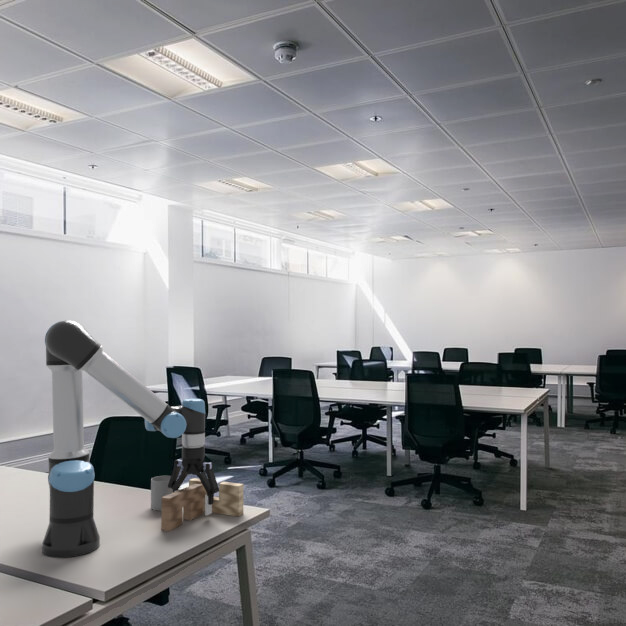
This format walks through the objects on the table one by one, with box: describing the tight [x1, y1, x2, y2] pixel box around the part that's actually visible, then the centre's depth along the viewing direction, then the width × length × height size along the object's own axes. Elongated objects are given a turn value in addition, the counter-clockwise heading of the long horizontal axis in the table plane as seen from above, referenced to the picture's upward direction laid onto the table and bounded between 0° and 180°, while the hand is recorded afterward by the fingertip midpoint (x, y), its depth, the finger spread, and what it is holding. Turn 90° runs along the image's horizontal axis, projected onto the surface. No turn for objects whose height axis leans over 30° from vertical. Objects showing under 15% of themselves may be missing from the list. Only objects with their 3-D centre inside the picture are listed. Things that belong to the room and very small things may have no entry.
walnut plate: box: [160, 484, 204, 532], centre depth 191 cm, size 18×3×10 cm, turn 156°
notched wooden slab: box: [188, 477, 244, 517], centre depth 202 cm, size 20×3×10 cm, turn 66°
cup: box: [150, 475, 173, 511], centre depth 207 cm, size 8×8×10 cm
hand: (192, 511), depth 196 cm, fingers open, 11 cm apart
